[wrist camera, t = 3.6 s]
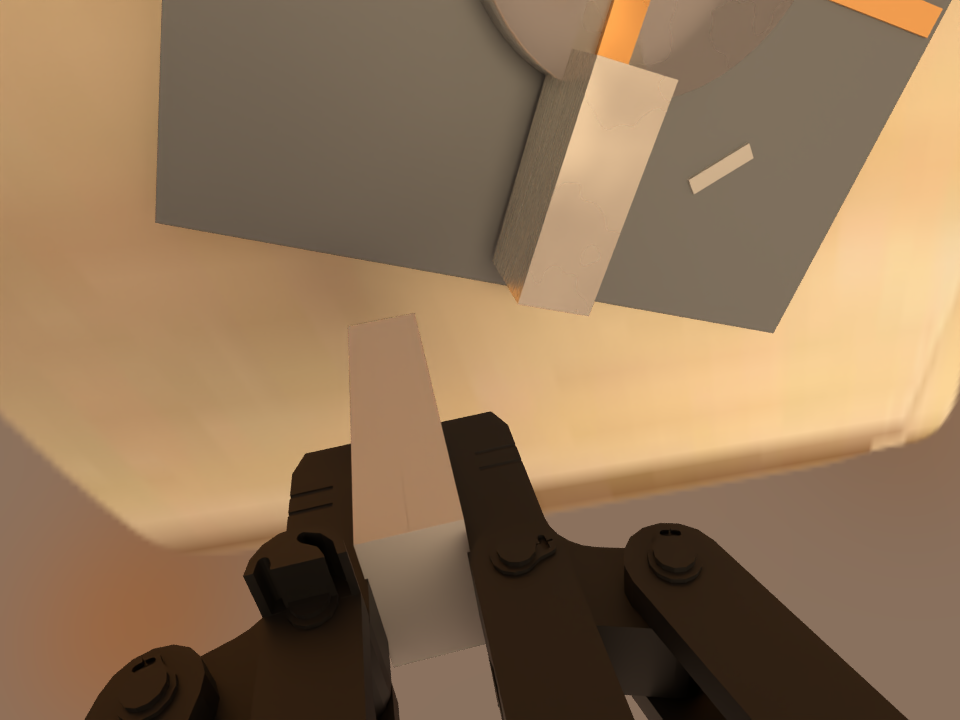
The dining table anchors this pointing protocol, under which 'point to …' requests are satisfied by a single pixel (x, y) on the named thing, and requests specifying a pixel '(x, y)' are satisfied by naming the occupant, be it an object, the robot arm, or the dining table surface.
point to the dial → (602, 123)
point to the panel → (517, 142)
